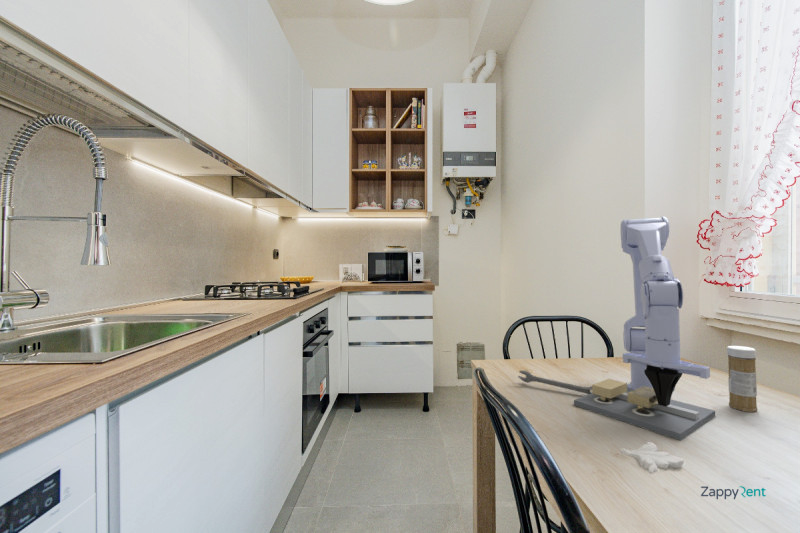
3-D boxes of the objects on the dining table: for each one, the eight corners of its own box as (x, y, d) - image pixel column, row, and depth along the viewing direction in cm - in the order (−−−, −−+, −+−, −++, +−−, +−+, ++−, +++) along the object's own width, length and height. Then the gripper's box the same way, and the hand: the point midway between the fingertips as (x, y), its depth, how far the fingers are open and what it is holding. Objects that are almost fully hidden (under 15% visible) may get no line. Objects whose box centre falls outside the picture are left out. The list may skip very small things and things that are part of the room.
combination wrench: (601, 385, 82) (517, 367, 95) (600, 389, 81) (516, 370, 94) (602, 396, 84) (520, 377, 96) (601, 400, 83) (518, 380, 95)
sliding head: (644, 399, 77) (643, 385, 77) (665, 405, 74) (664, 390, 74) (627, 407, 73) (627, 392, 73) (649, 413, 70) (649, 398, 70)
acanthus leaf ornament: (650, 449, 61) (650, 438, 61) (690, 471, 54) (690, 459, 54) (614, 453, 59) (614, 442, 59) (651, 477, 52) (650, 464, 52)
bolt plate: (613, 389, 89) (613, 372, 89) (715, 416, 72) (714, 395, 72) (573, 405, 79) (573, 385, 79) (680, 440, 62) (679, 416, 62)
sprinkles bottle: (736, 403, 78) (734, 344, 79) (762, 410, 74) (760, 348, 74) (723, 406, 77) (722, 346, 77) (750, 414, 73) (748, 350, 73)
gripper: (615, 335, 75) (616, 398, 75) (699, 347, 63) (701, 421, 63) (630, 332, 79) (632, 391, 79) (713, 342, 67) (715, 412, 67)
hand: (664, 404), depth 71 cm, fingers closed
